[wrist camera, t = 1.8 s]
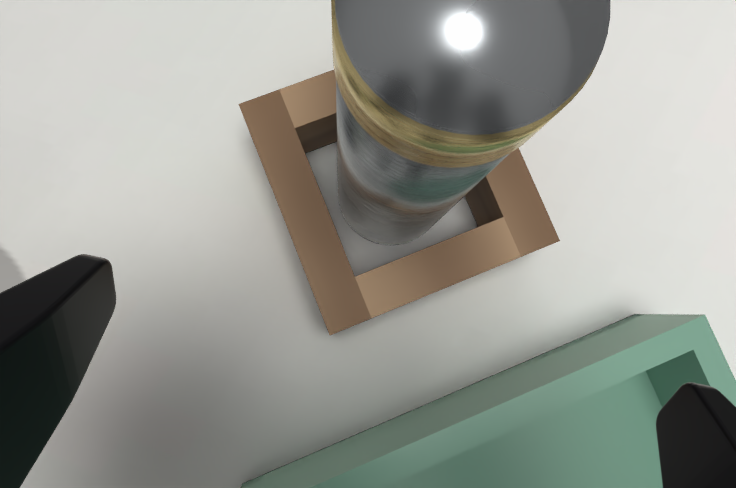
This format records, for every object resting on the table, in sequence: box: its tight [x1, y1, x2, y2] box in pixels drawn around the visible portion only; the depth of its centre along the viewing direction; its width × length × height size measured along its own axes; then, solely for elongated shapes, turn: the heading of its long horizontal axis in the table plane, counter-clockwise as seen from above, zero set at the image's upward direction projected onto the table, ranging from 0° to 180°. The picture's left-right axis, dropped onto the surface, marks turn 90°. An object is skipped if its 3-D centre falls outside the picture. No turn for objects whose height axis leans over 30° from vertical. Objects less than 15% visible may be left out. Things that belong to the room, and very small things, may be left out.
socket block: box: [239, 70, 560, 335], centre depth 19 cm, size 8×8×3 cm
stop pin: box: [331, 0, 610, 245], centre depth 14 cm, size 4×4×13 cm
